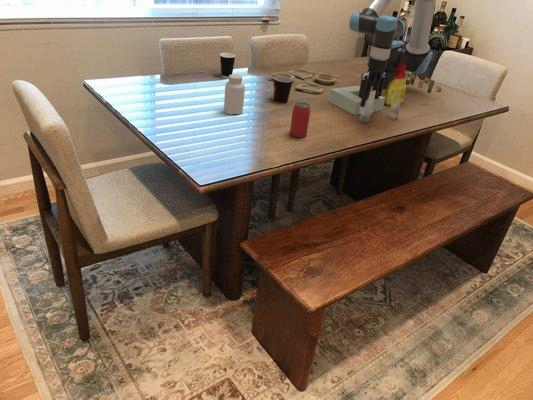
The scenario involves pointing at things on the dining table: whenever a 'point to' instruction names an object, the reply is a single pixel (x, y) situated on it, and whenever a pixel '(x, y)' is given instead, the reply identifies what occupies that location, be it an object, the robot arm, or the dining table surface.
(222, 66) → the dixie cup
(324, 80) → the tableware set
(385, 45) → the robot arm
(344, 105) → the pin block
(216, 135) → the dining table surface
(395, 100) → the bottle
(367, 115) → the long pin
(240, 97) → the pill bottle
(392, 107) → the short pin
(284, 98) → the coffee mug
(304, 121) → the beer can
